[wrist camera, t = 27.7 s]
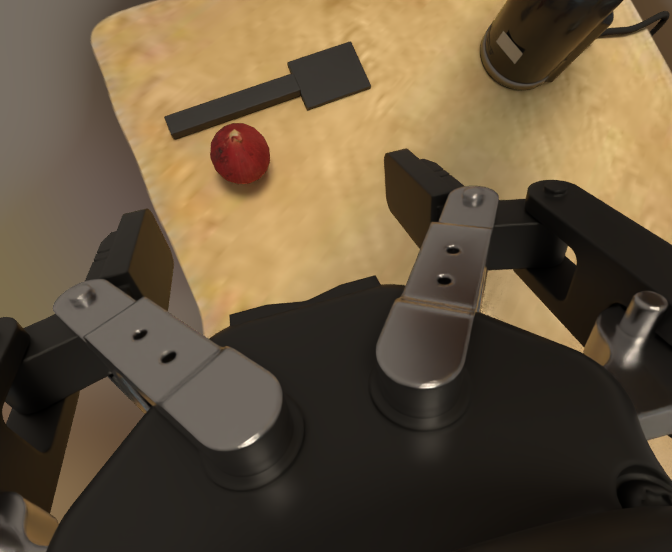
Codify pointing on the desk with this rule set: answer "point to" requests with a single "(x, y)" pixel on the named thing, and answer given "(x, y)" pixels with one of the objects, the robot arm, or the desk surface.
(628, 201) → the desk surface
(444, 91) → the desk surface
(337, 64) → the spatula
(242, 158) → the onion
